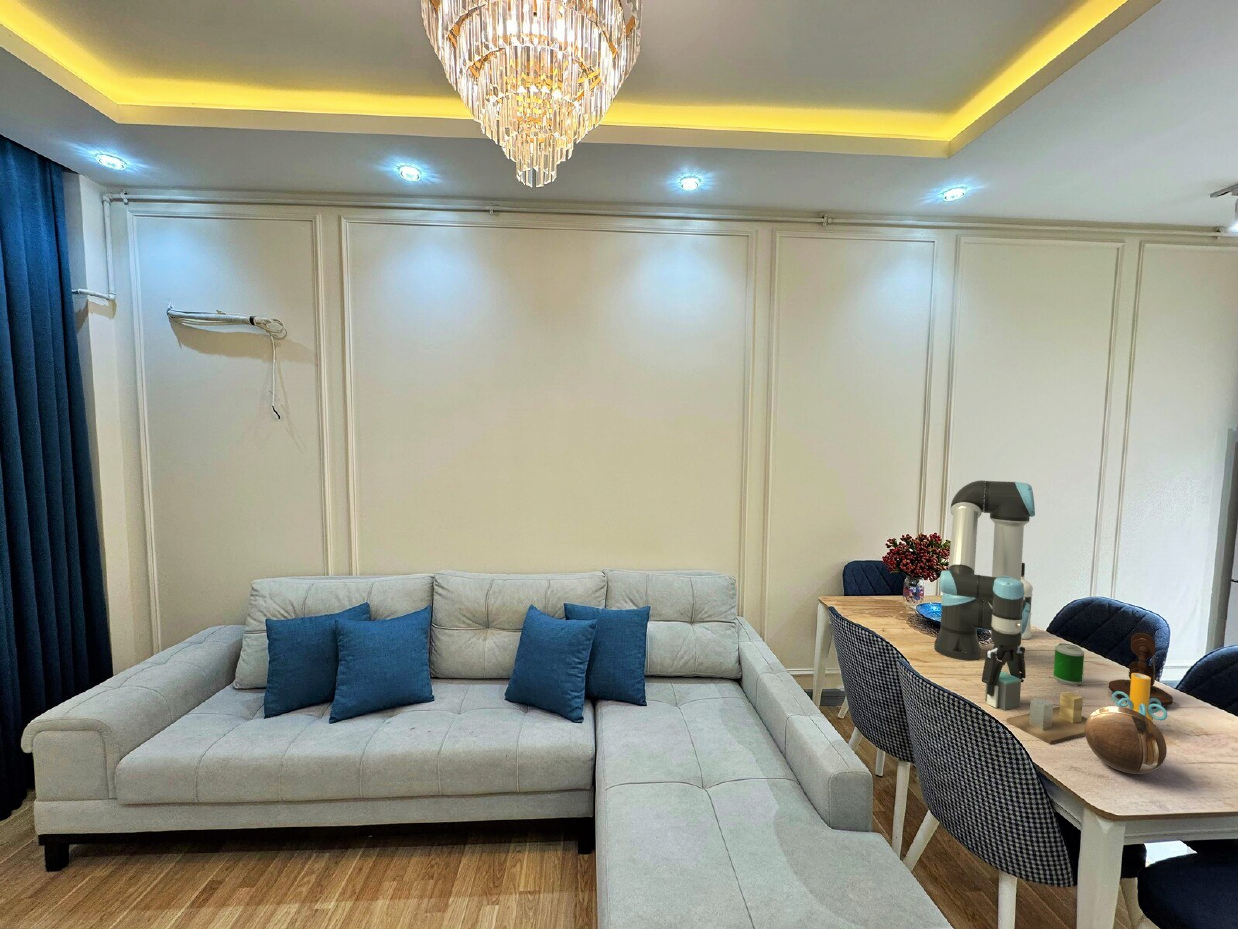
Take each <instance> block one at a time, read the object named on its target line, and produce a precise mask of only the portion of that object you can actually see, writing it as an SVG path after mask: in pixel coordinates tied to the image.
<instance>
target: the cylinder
mask: <svg viewBox="0 0 1238 929" xmlns="http://www.w3.org/2000/svg"><path fill="white" fill-rule="evenodd" d="M1150 683H1151V678H1150V677H1149V676H1146V675H1143V674H1139V673H1132V674H1131V685H1130V698H1129V696H1128V695H1127V694H1125V693H1124V692H1121V691H1116V692H1114V693H1113V692H1112V695H1111V696H1112V701H1113V702H1114V703H1115V704H1116V706H1119V707H1125V708H1129V709H1132V710H1134V711H1137V712H1139V713H1141V714H1142V715H1144V716H1145V717H1147V718H1148V719H1150V720H1151V721H1152V722H1153V719H1154V720H1157V721H1165V720H1166V719H1167V718H1168V712H1167V710H1166V709H1165V707H1162V706H1161V702H1160V701H1159V700H1158V699H1156V698H1151V699H1149V697H1150ZM1117 694H1122V695H1124V696H1125V697H1126V698H1123V697H1121V698H1120V699H1118V698H1117ZM1117 699H1118V700H1117ZM1152 701H1156V702H1157V704H1150V703H1151V702H1152ZM1149 704H1150V705H1149ZM1155 707H1156V708H1155ZM1152 708H1155V709H1152ZM1160 709H1161V711H1162V712H1163V713H1162V714H1163V716H1160V717H1159V716H1157V715H1155V714H1156V713H1159V712H1160ZM1153 723H1154V722H1153Z"/></svg>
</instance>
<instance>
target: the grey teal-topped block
mask: <svg viewBox="0 0 1238 929" xmlns="http://www.w3.org/2000/svg"><path fill="white" fill-rule="evenodd" d="M996 685H997V686H998V703H997V708H998V709H1001V710H1003V711H1007V710H1008V711H1009V710H1012V709H1017V708H1020V706H1021V689H1022V688H1021V687H1022V682H1021V679H1019V678H1017V677H1015V676H1012V675H1010V673H1008V672H1005V671H1002V670H1001V673H1000V676H999V678H998V681H997V684H996ZM984 696H985V698H984V700H985V702H987V684H986V683H985V695H984Z"/></svg>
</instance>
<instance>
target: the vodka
mask: <svg viewBox="0 0 1238 929" xmlns="http://www.w3.org/2000/svg"><path fill="white" fill-rule="evenodd" d="M1025 565H1026V563H1025V562H1022V569H1021V582H1023V584H1024V597H1025V602H1027V603H1029V604H1030V611H1029V618H1028V622H1027V626H1026V630H1025V632H1024V633H1023V634H1021V635H1022V636H1021V640H1028V639H1031V638H1032V634H1033V633H1032V628H1031V625H1032V624H1031V618H1032V617H1031V616H1032V613H1031V612H1032V598H1033V590H1034V588H1033V585H1032V584H1031V583H1030V582H1028V580H1026V579H1025V573H1026V572H1025V570H1026V566H1025Z"/></svg>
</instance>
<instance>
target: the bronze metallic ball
mask: <svg viewBox="0 0 1238 929" xmlns="http://www.w3.org/2000/svg"><path fill="white" fill-rule="evenodd" d="M1085 740H1086V743H1087V744H1088V747H1089V748H1090V749H1091V751H1092V752H1093V753H1094V755H1095V756H1096V757H1097V758H1098V759H1099V760H1100V761H1102V762H1103V763H1104V764H1106V765H1107V766H1110V767H1111V768H1113V769H1115V770H1117V771H1119V772H1123V773H1127V774H1131V775H1143V774H1148V773H1152V772H1154V771H1155V770H1157V769H1159V768H1160V767H1161V766H1162V765H1163V763H1164V762H1165V759H1166V757H1167V752H1168V751H1167V750H1168V748H1167V743H1166V740H1165V737H1164V735H1163V733H1162V731H1161V730H1160V729H1159V727H1158V726H1157V725H1156V724H1155V723H1154V722H1152V721H1151V720H1150V719H1148V718H1147V717H1145V716H1144V715H1142V714H1141V713H1139V712H1137V711H1134V710H1132V709H1129V708H1126V707H1119V706H1117V705H1109V706H1103V707H1100V708H1098V709H1096V710H1094V711H1093V712H1092V713H1091V714H1090V715H1089V716H1088V718H1087V721H1086V724H1085Z"/></svg>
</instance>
